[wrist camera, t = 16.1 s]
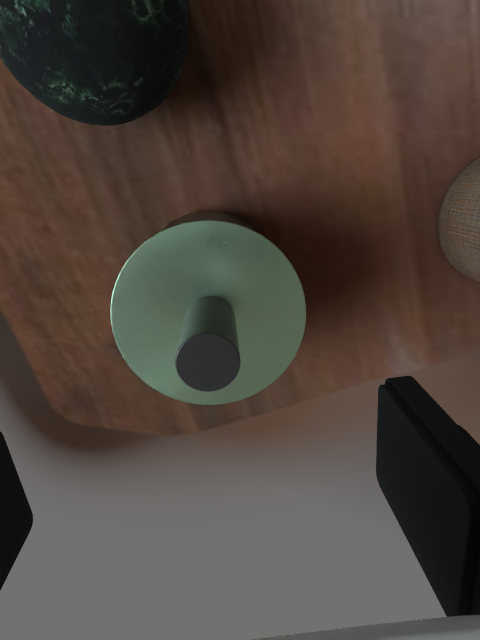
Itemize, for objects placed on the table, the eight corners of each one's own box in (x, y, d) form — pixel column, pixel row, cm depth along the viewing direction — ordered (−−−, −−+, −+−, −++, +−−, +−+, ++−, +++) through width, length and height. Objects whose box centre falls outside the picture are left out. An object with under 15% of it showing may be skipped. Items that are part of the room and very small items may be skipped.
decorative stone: (14, 91, 26) (-99, 46, 17) (55, -91, 23) (-54, -269, 14) (163, 158, 28) (136, 150, 19) (218, -3, 25) (219, -109, 16)
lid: (90, 359, 24) (47, 423, 18) (153, 183, 21) (127, 187, 15) (255, 418, 26) (267, 494, 20) (335, 265, 23) (379, 299, 17)
